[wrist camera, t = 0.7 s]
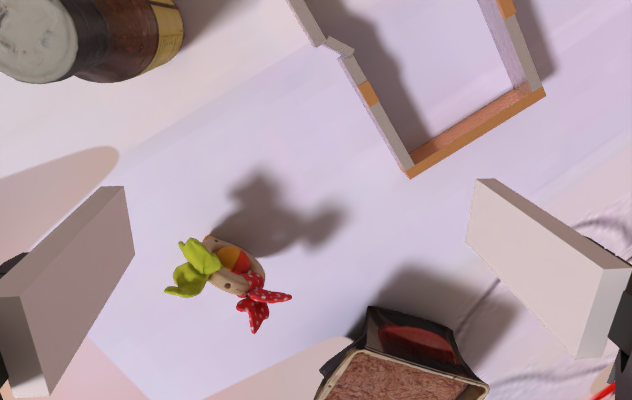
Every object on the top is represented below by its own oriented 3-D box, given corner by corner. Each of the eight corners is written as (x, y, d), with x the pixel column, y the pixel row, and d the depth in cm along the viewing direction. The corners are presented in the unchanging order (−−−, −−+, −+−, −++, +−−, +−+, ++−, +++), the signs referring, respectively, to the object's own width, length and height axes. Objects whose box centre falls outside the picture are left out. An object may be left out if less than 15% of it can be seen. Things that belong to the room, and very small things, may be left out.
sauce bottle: (93, 6, 33) (-124, -30, 15) (161, -30, 33) (23, -111, 15) (140, 82, 36) (2, 130, 18) (203, 49, 35) (131, 65, 17)
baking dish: (397, 394, 56) (435, 467, 47) (282, 372, 48) (302, 455, 40) (458, 313, 52) (511, 378, 43) (343, 276, 44) (380, 345, 36)
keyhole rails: (267, -31, 34) (266, -38, 31) (444, -159, 32) (463, -180, 29) (390, 176, 41) (399, 188, 38) (538, 84, 39) (561, 88, 36)
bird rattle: (194, 203, 40) (174, 246, 32) (299, 238, 43) (306, 287, 35) (176, 255, 42) (152, 310, 34) (277, 286, 45) (278, 344, 37)
